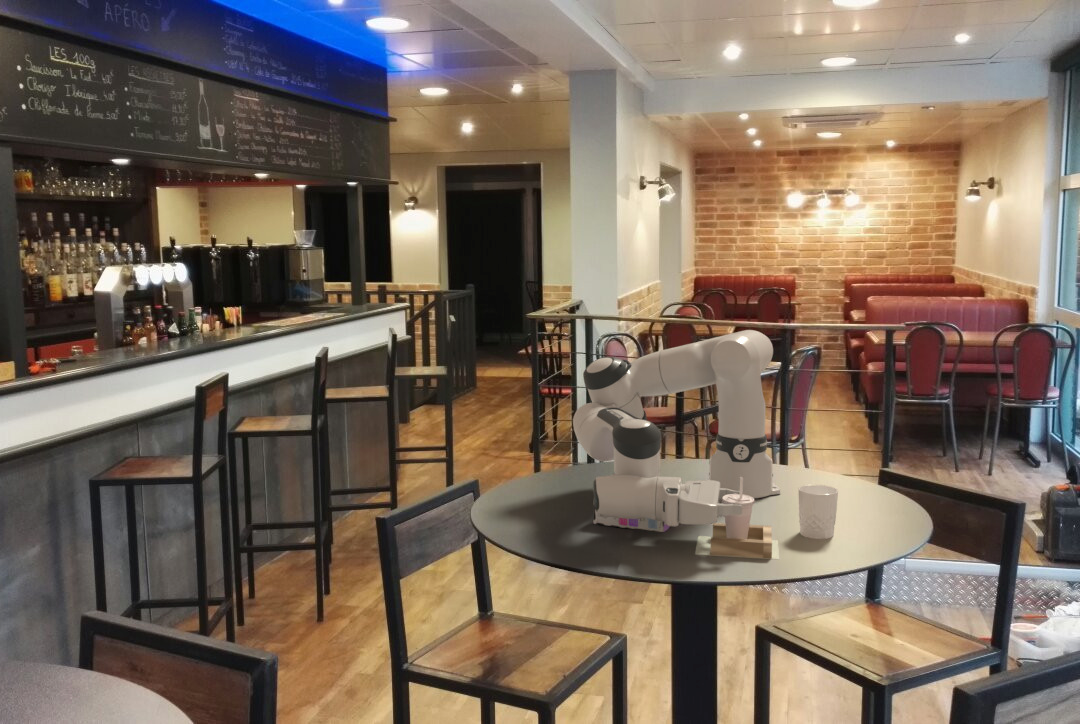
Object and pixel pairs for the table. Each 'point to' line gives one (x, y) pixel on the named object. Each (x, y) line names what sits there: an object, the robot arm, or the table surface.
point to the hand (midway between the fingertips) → (742, 502)
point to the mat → (705, 549)
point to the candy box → (630, 522)
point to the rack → (742, 542)
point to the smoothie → (738, 523)
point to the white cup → (817, 511)
